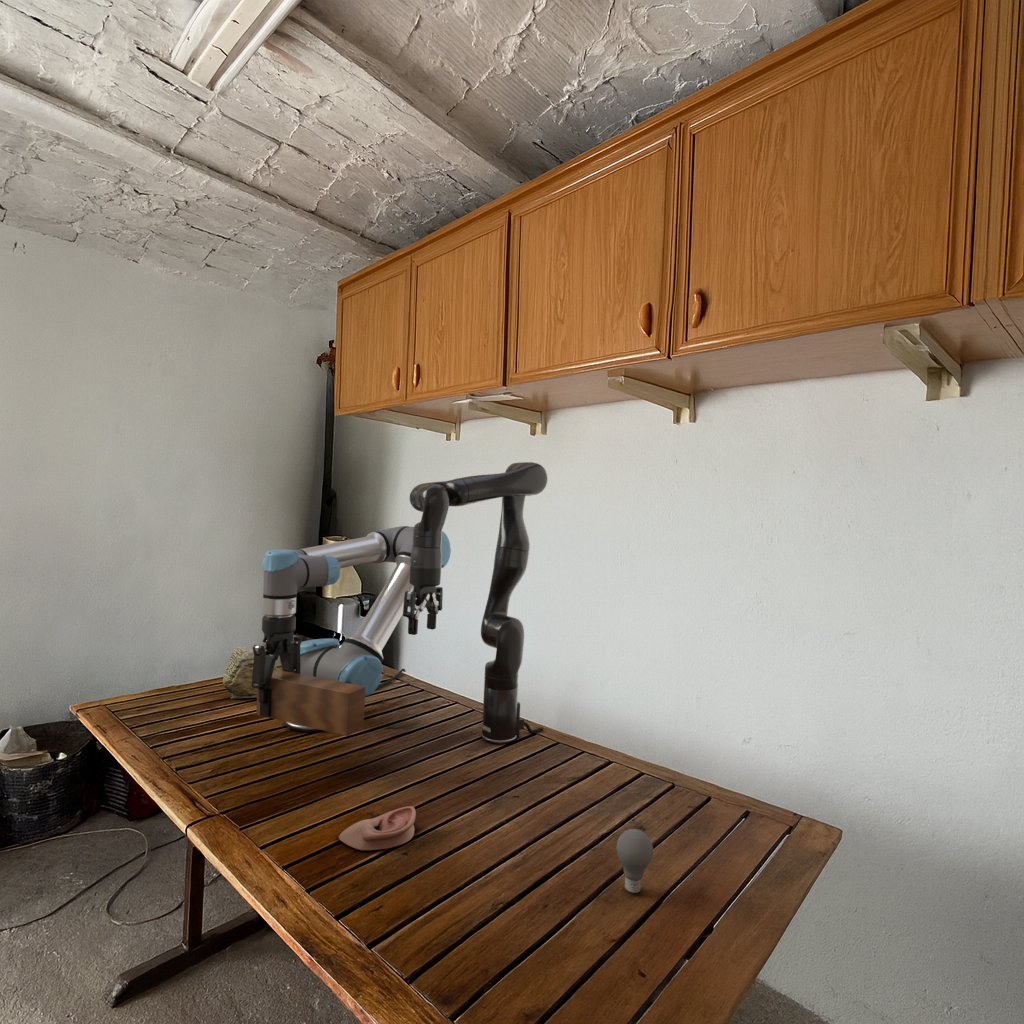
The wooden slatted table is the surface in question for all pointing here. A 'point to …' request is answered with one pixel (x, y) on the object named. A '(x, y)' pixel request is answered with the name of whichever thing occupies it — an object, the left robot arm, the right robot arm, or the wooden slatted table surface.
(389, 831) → the anatomical model
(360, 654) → the left robot arm
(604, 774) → the wooden slatted table surface
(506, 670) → the right robot arm
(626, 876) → the light bulb
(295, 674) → the bar
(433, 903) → the wooden slatted table surface
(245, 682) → the fossil
